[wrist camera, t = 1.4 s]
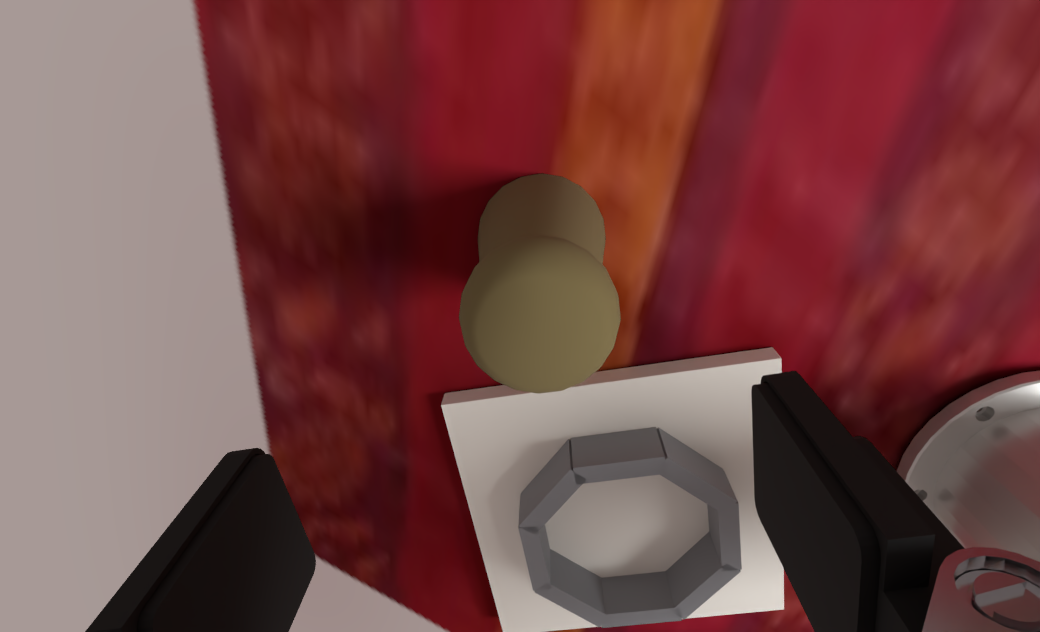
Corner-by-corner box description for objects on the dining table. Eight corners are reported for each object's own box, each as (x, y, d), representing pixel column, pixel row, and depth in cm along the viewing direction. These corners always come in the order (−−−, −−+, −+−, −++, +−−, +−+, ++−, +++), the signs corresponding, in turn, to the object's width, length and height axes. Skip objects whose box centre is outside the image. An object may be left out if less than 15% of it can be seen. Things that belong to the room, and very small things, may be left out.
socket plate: (772, 347, 29) (802, 384, 26) (776, 592, 36) (800, 647, 32) (444, 393, 31) (432, 433, 27) (505, 618, 37) (501, 673, 34)
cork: (527, 320, 29) (517, 454, 19) (451, 224, 27) (396, 316, 17) (630, 252, 27) (679, 360, 17) (557, 146, 26) (564, 196, 16)
